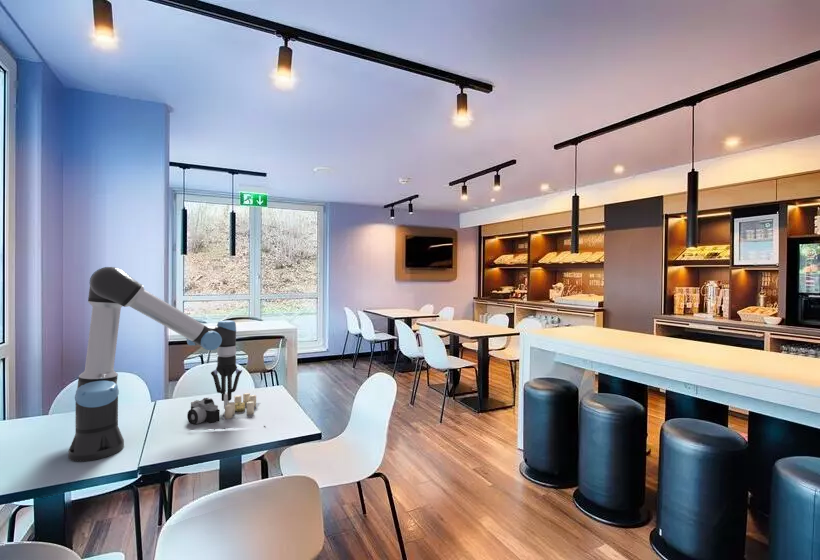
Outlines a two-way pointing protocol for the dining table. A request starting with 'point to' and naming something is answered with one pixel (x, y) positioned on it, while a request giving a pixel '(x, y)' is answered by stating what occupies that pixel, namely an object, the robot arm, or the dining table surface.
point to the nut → (240, 407)
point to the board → (249, 407)
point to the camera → (203, 412)
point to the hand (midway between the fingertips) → (226, 407)
